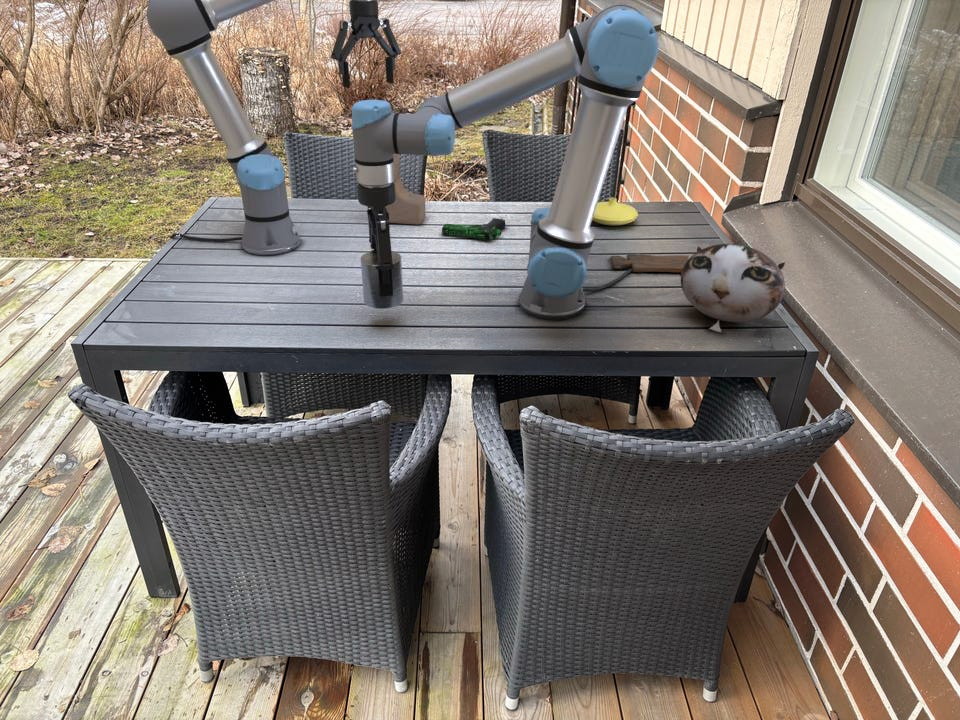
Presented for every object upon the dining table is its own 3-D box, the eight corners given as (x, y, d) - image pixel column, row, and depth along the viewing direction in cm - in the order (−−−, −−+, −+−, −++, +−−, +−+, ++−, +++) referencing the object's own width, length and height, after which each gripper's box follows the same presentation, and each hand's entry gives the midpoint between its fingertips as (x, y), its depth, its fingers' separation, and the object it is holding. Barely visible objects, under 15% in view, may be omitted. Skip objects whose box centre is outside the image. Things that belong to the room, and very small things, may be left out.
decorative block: (420, 225, 212) (417, 121, 196) (371, 222, 213) (364, 118, 198) (426, 217, 218) (423, 115, 203) (378, 214, 220) (371, 113, 204)
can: (372, 312, 151) (368, 268, 145) (358, 296, 157) (354, 254, 152) (409, 303, 154) (407, 261, 149) (394, 288, 160) (391, 247, 155)
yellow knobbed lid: (599, 209, 226) (601, 187, 223) (645, 219, 218) (648, 197, 215) (575, 222, 215) (576, 200, 212) (622, 234, 207) (625, 211, 204)
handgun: (511, 219, 210) (493, 234, 198) (511, 228, 211) (492, 244, 199) (461, 212, 215) (440, 226, 203) (461, 221, 217) (440, 236, 204)
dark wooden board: (713, 276, 184) (704, 260, 192) (715, 269, 183) (705, 255, 191) (613, 272, 184) (608, 257, 192) (614, 266, 183) (609, 251, 192)
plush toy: (658, 308, 155) (687, 223, 157) (673, 329, 171) (700, 252, 172) (764, 333, 144) (794, 241, 146) (770, 354, 160) (797, 271, 162)
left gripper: (326, 2, 178) (333, 91, 189) (411, -2, 191) (414, 82, 202) (313, -1, 183) (321, 87, 194) (397, -4, 196) (400, 78, 207)
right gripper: (350, 169, 150) (358, 269, 162) (364, 200, 133) (372, 310, 144) (385, 167, 152) (391, 265, 164) (404, 197, 134) (409, 305, 146)
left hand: (368, 85), depth 198 cm, fingers open, 13 cm apart
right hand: (382, 286), depth 154 cm, fingers closed on can, 8 cm apart
